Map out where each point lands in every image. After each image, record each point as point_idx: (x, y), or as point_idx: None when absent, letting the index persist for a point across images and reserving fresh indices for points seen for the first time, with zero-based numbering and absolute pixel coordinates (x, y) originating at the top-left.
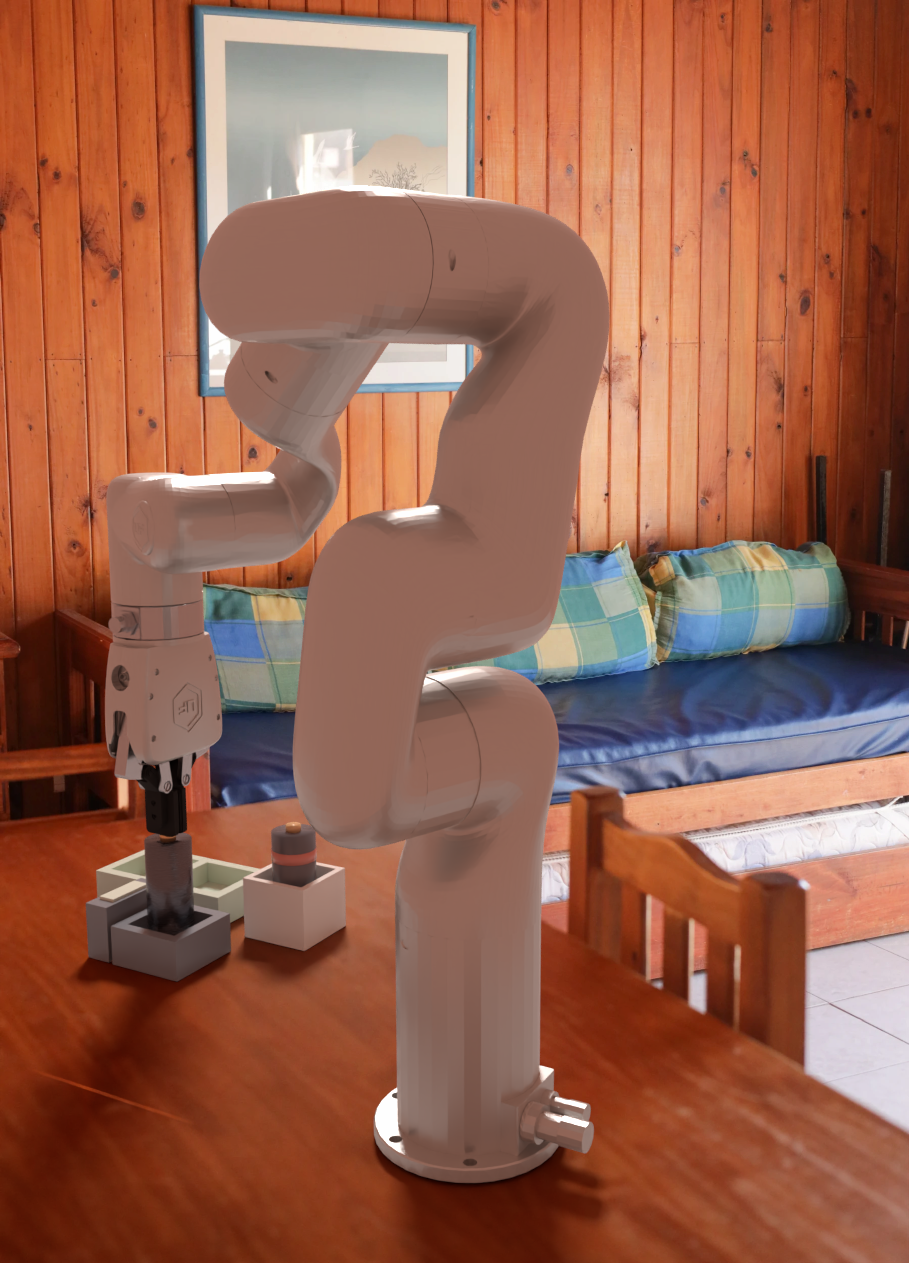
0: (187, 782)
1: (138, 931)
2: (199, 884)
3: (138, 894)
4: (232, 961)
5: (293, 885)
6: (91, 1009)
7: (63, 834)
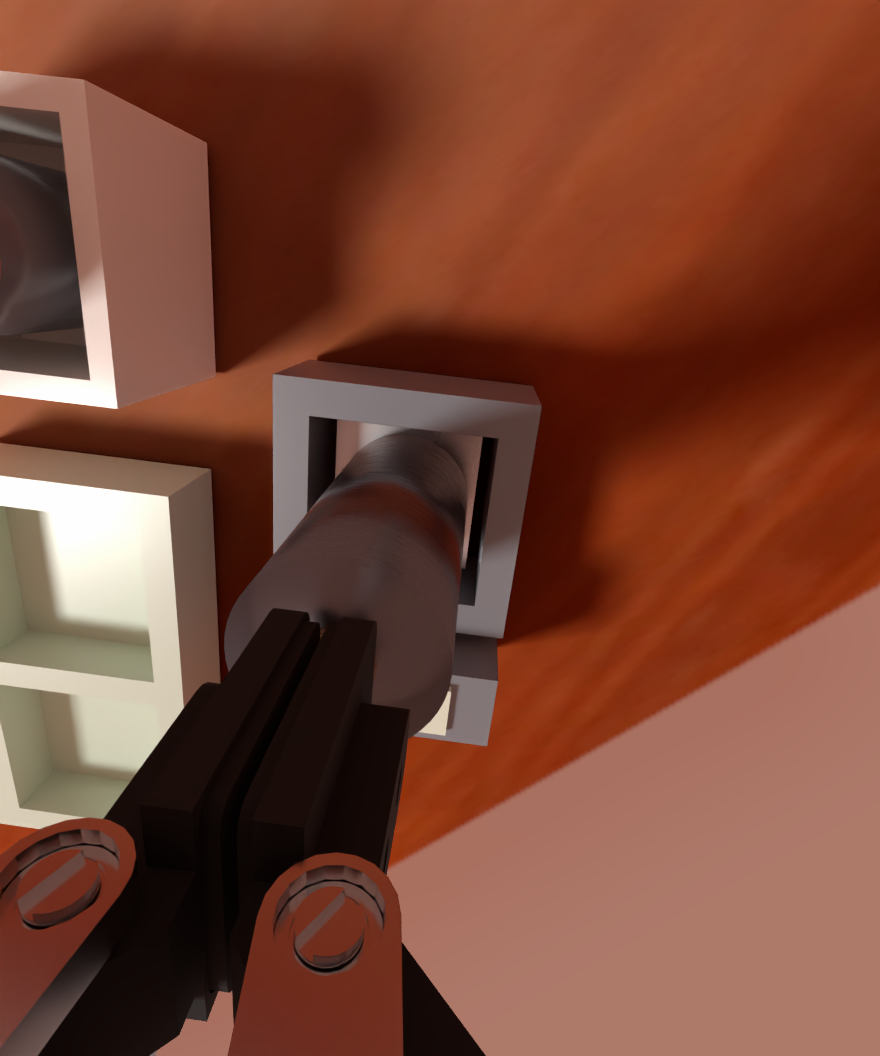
0: (55, 843)
1: (507, 552)
2: (58, 635)
3: None
4: (351, 326)
5: (36, 199)
6: (722, 498)
7: None
